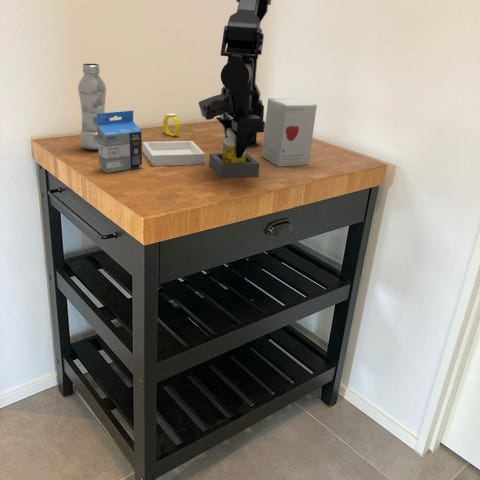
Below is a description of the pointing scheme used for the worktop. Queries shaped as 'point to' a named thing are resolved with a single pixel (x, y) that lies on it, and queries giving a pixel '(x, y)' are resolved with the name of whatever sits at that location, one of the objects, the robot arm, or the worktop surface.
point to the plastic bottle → (91, 104)
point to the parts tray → (173, 153)
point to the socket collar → (233, 167)
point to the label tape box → (118, 142)
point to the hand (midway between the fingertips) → (234, 153)
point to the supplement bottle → (231, 150)
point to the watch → (177, 125)
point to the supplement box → (288, 131)
